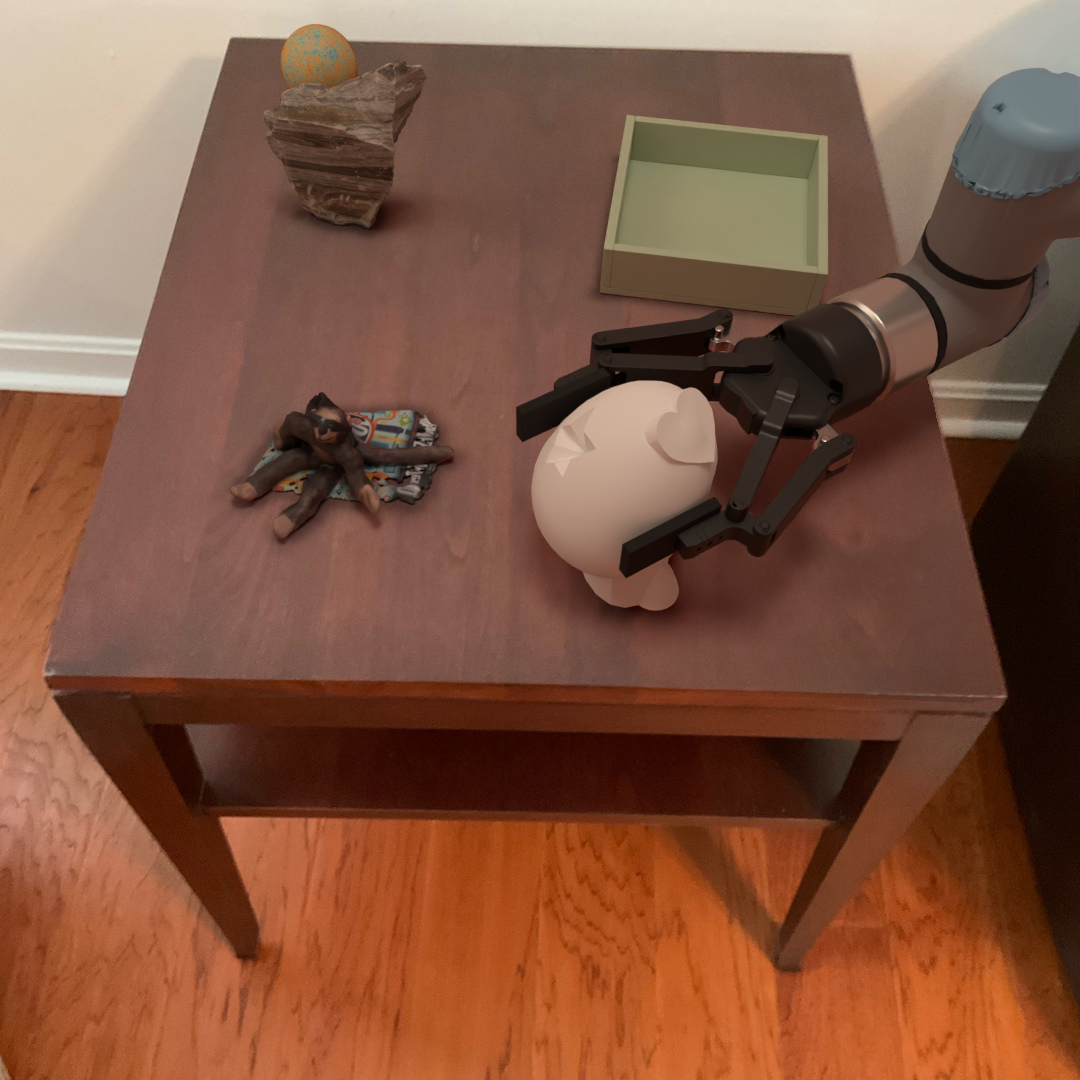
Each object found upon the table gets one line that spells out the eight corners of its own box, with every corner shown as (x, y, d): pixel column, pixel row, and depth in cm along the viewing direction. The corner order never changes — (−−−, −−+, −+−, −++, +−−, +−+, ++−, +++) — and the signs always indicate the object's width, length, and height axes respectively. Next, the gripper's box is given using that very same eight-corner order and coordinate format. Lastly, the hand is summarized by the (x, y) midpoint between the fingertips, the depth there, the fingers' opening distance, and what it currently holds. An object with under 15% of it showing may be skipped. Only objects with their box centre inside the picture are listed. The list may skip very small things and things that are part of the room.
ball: (355, 124, 96) (344, 54, 91) (281, 120, 97) (266, 50, 91) (367, 80, 100) (357, 10, 94) (296, 76, 101) (282, 6, 95)
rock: (276, 214, 89) (237, 52, 77) (305, 174, 92) (272, 11, 80) (412, 247, 87) (394, 86, 75) (437, 204, 90) (424, 43, 78)
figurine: (528, 614, 67) (528, 477, 55) (532, 476, 74) (533, 325, 61) (698, 618, 67) (737, 481, 55) (688, 480, 74) (720, 329, 61)
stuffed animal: (202, 459, 73) (305, 329, 71) (293, 488, 82) (387, 373, 79) (286, 570, 68) (400, 433, 66) (373, 588, 77) (476, 468, 74)
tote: (815, 180, 93) (828, 135, 89) (814, 318, 83) (828, 274, 79) (622, 160, 94) (626, 114, 90) (599, 293, 85) (603, 248, 81)
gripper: (952, 511, 66) (675, 669, 59) (730, 290, 77) (475, 403, 70) (997, 437, 60) (692, 604, 53) (748, 208, 71) (471, 324, 64)
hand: (569, 490), depth 62 cm, fingers closed on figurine, 11 cm apart
